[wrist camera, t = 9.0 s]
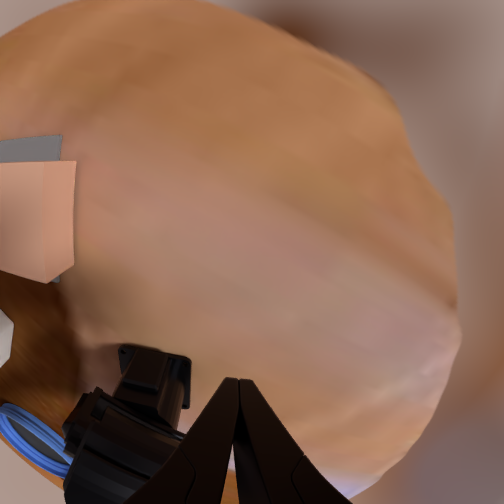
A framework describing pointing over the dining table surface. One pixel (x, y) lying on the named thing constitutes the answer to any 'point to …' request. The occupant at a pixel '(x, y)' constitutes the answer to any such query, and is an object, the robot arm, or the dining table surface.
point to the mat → (32, 152)
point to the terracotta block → (37, 218)
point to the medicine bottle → (5, 337)
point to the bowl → (34, 439)
